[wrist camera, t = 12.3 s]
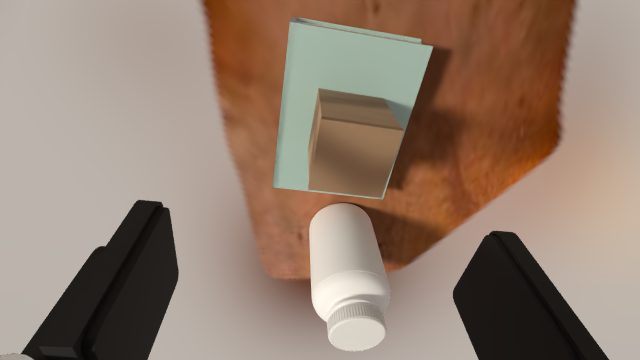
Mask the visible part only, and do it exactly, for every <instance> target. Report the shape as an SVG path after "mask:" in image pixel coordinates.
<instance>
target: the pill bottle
mask: <svg viewBox="0 0 640 360" xmlns="http://www.w3.org/2000/svg"><path fill="white" fill-rule="evenodd" d="M309 236H310V263H311V290H312V302H313V306H314V308H315V310H316V312H317V314H318V315H319V316H320V317H321V318H322V319H323V320H325V321H326V322H327V328H328V338H329V340H330V342H331V343H332V344H333V345H334V346H335V347H337V348H339V349H342V350H346V351H361V350H365V349H369V348H371V347H374V346H375V345H377V344H379V343H380V342H381V341H382V340H383V338H384V337H385V334H386V326H385V321H384V317H383V313H384V312H385V310H386V309H387V307H388V305H389V301H390V287H389V283H388V280H387V276H386V272H385V269H384V265H383V262H382V258H381V254H380V251H379V247H378V244H377V240H376V237H375V233H374V229H373V226H372V223H371V220H370V218H369V216H368V215H367V213H366V212H365V211H364V210H363V209H361V208H360V207H358V206H356V205H353V204H348V203H337V204H332V205H329V206H327V207H325V208H323V209H321V210H320V211H319V212H318V213H317V214H316V215H315V216H314V217H313V219H312V221H311V224H310V230H309Z"/></svg>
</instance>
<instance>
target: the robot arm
mask: <svg viewBox="0 0 640 360" xmlns="http://www.w3.org/2000/svg"><path fill="white" fill-rule="evenodd" d="M177 281H178V265H177V258H176V251H175V244H174V237H173V231H172V224H171V218H170V211H169V209H168V208H165V207H163V205H162V203H161V202H157V201H145V200H138V201H136V203H135V204H134V206H133V207H132V208H131V210H130V211H129V213H128V214H127V216H126V217H125V219H124V220H123V222H122V223H121V225H120V226H119V228H118V229H117V231H116V232H115V234H114V235H113V236H112V238H111V239H110V241H109V242H108V244H107V245H106V246H100V247H98V248H97V249H95V250H94V251H93V253H92V254H91V255H90V256H89V258H88V259H87V261H86V262H85V264H84V265H83V266H82V268H81V269H80V271H79V272H78V273H77V275H76V276H75V278H74V279H73V281H72V282H71V283H70V285H69V286H68V288H67V289H66V290H65V292H64V293H63V295H62V296H61V298H60V299H59V301H58V302H57V303H56V305H55V306H54V307H53V309H52V310H51V312H50V313H49V315H48V316H47V317H46V319H45V320H44V322H43V323H42V325H41V326H40V327H39V329H38V330H37V332H36V333H35V334H34V336H33V337H32V339H31V340H30V342H29V343H28V344H27V346H26V347H25V349H24V350H23V351H22V353H21V354H14V353H13V354H7V355H0V360H147V359H148V357H149V354H150V352H151V349H152V346H153V343H154V341H155V338H156V336H157V333H158V331H159V328H160V325H161V323H162V320H163V318H164V315H165V313H166V310H167V308H168V305H169V302H170V300H171V297H172V294H173V292H174V289H175V287H176V284H177ZM453 299H454V302H455V305H456V307H457V309H458V312H459V314H460V317H461V319H462V321H463V324H464V326H465V328H466V331H467V333H468V335H469V338H470V340H471V342H472V345H473V347H474V350H475V352H476V354H477V357H478V359H479V360H609V359H608V358H607V356H606V355H605V353H604V352H603V351H602V349H601V348H600V347H599V345H598V344H597V343H596V341H595V340H594V339H593V337H592V336H591V335H590V333H589V332H588V331H587V329H586V328H585V326H584V325H583V324H582V322H581V321H580V320H579V319H578V317H577V316H576V314H575V313H574V312H573V310H572V309H571V308H570V306H569V305H568V303H567V302H566V301H565V300H564V298H563V297H562V295H561V294H560V293H559V292H558V290H557V289H556V287H555V286H554V284H553V283H552V282H551V281H550V279H549V278H548V276H547V275H546V274H545V272H544V271H543V270H542V268H541V267H540V266H539V264H538V263H537V261H536V260H535V259H534V258H533V256H532V255H531V254H530V252H529V251H528V250H527V248H526V247H525V245H524V244H523V243H522V241H521V240H520V239H519V237H518V236H517V235H516V234H515V233H513V232H503V231H492V232H491V233H490V234H489V235H486V236H485V237H484V239H483V241H482V242H481V244H480V246H479V247H478V249H477V251H476V252H475V254H474V256H473V257H472V259H471V261H470V263H469V264H468V266H467V268H466V269H465V271H464V273H463V274H462V276H461V278H460V280H459V281H458V283H457V285H456V286H455V288H454V290H453Z"/></svg>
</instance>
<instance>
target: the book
mask: <svg viewBox="0 0 640 360" xmlns="http://www.w3.org/2000/svg"><path fill="white" fill-rule="evenodd" d="M421 41H422V39H418V38H412V37H407V36H401V35H395V34H389V33H384V32H378V31H372V30H367V29H361V28H355V27H350V26H344V25H338V24H332V23H327V22H321V21H315V20H310V19H304V18H298V17H292V16H291V20H290V27H289V36H288V46H287V55H286V65H285V74H284V84H283V93H282V103H281V112H280V122H279V131H278V141H277V150H276V160H275V169H274V179H273V187H275V188H284V189H293V190H302V191H311V192H321V193H330V194H339V195H348V196H357V197H366V198H375V199H383V197H384V194H385V191H386V188H387V185H388V182H389V179H390V176H391V173H392V170H393V167H394V164H395V161H396V158H397V155H398V152H399V149H400V146H401V143H402V140H403V136H404V133H405V130H406V127H407V124H408V121H409V118H410V115H411V112H412V109H413V106H414V103H415V100H416V97H417V94H418V91H419V88H420V85H421V82H422V79H423V76H424V73H425V70H426V67H427V64H428V61H429V58H430V55H431V52H432V49H433V46H431V45H425V44H422V43H421ZM318 88H321V89H328V90H334V91H340V92H347V93H353V94H359V95H366V96H372V97H378V98H384V100H385V101H386V103H387V105H388V106H389V108H390V110H391V112H392V113H393V115H394V117H395V118H396V120H397V122H398V123H399V125H400V127H401V128H403V130H404V133H403V136H402V139H401V142H400V145H399V148H398V151H397V154H396V157H395V160H394V163H393V166H392V169H391V172H390V175H389V178H388V181H387V184H386V187H385V190H384V192H383V195H382V198H376V197H367V196H358V195H350V194H341V193H333V192H324V191H316V190H308V185H309V167H308V145H309V139H310V133H311V128H312V122H313V116H314V110H315V104H316V99H317V93H318Z"/></svg>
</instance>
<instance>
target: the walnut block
mask: <svg viewBox="0 0 640 360" xmlns="http://www.w3.org/2000/svg"><path fill="white" fill-rule="evenodd" d="M403 133H404V130H403V128H401V127H400V125H399V123H398V122H397V120H396V118H395V117H394V115H393V113H392V112H391V110H390V108H389V106H388V105H387V103H386V101H385V100H384V98H378V97H372V96H366V95H359V94H353V93H347V92H340V91H334V90H328V89H321V88H318V93H317V99H316V104H315V110H314V116H313V122H312V128H311V133H310V139H309V145H308V167H309V185H308V190H316V191H324V192H333V193H341V194H350V195H358V196H367V197H376V198H382V195H383V192H384V190H385V187H386V184H387V181H388V178H389V175H390V172H391V169H392V166H393V163H394V160H395V157H396V154H397V151H398V148H399V145H400V142H401V139H402V136H403Z"/></svg>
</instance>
